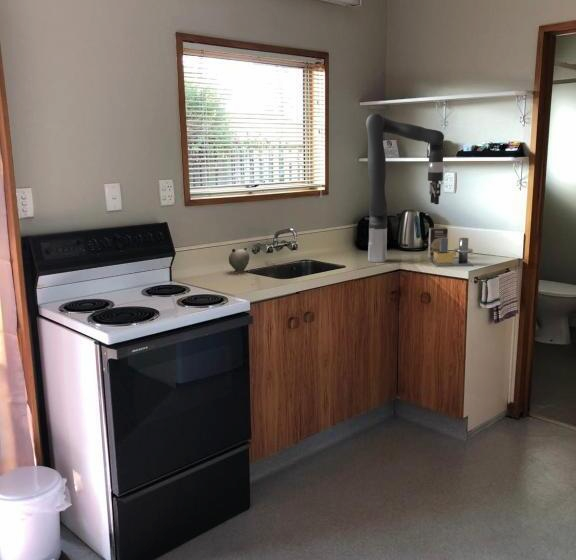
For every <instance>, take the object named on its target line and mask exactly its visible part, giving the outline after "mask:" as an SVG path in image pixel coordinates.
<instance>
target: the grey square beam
mask: <svg viewBox="0 0 576 560" xmlns="http://www.w3.org/2000/svg"><path fill="white" fill-rule="evenodd" d="M448 243H449V238H448V237H447V238H440V253H447V251H449V250H448V248H449V247H448V246H449V245H448Z"/></svg>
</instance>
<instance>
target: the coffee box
mask: <svg viewBox="0 0 576 560" xmlns="http://www.w3.org/2000/svg"><path fill="white" fill-rule="evenodd" d="M440 238H447V239H448V228H446V227H429V228H428V250H427V257H429V258H428V259H431V260H434V251H440Z"/></svg>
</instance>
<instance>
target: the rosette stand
mask: <svg viewBox="0 0 576 560" xmlns="http://www.w3.org/2000/svg"><path fill="white" fill-rule="evenodd" d="M458 242H459V243H458V248H457V247H456V248H454V250H453V251H450V250H448V251H447V253H440V251H434V259H431V263H432V264H433V265H434V266H435V267H474V262H471V261H470V260H468V259H469V256H468V255H469V253H470V254H471V253H473V252H474V250H473V248H469V237H459V239H458ZM457 253H458V259H454V257H455V256H457Z"/></svg>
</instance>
